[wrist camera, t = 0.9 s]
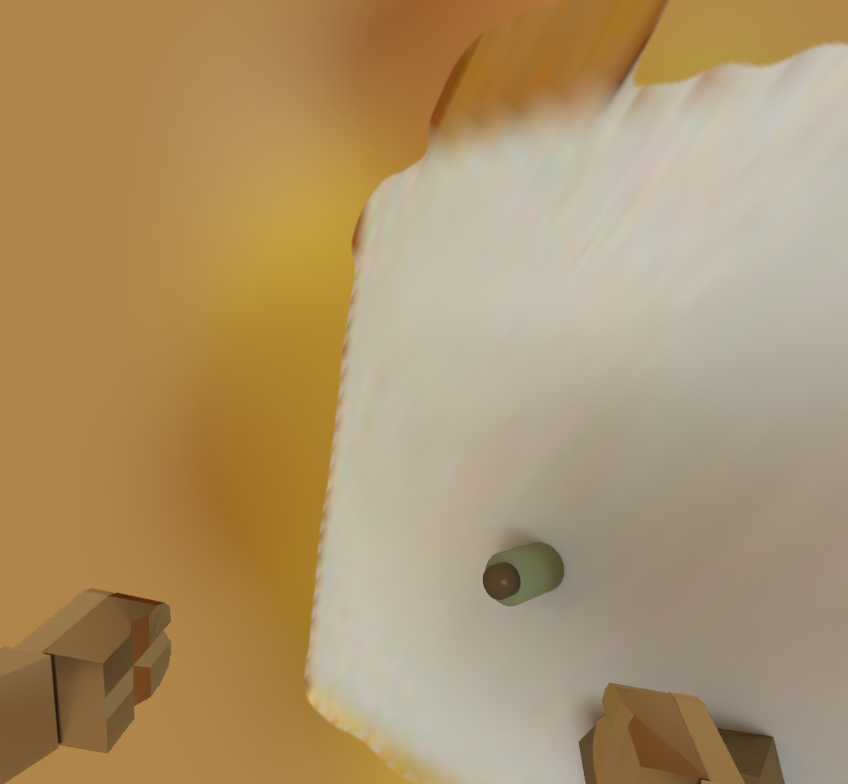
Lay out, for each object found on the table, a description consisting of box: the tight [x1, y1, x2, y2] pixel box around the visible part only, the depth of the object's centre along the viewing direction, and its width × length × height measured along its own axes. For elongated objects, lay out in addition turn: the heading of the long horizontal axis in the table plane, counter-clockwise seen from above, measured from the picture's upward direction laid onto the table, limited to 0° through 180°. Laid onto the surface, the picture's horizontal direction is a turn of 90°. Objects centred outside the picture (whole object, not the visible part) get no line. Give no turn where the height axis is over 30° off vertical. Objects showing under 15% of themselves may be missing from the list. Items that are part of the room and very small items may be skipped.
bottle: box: [483, 543, 564, 606], centre depth 46 cm, size 4×4×8 cm
